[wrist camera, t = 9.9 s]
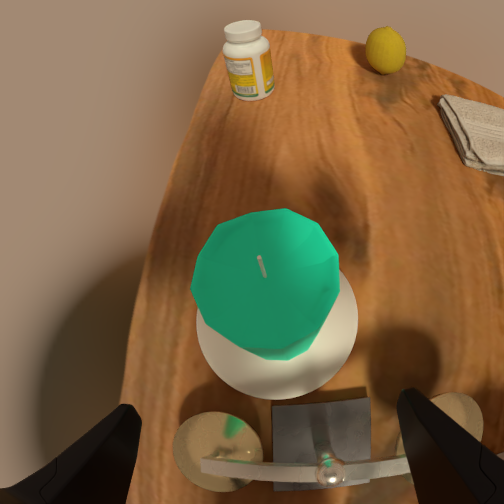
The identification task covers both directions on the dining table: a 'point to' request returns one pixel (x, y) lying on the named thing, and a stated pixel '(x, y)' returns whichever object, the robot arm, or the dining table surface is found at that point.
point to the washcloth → (475, 132)
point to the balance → (300, 445)
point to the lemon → (385, 50)
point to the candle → (267, 282)
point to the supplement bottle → (248, 60)
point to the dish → (286, 372)
